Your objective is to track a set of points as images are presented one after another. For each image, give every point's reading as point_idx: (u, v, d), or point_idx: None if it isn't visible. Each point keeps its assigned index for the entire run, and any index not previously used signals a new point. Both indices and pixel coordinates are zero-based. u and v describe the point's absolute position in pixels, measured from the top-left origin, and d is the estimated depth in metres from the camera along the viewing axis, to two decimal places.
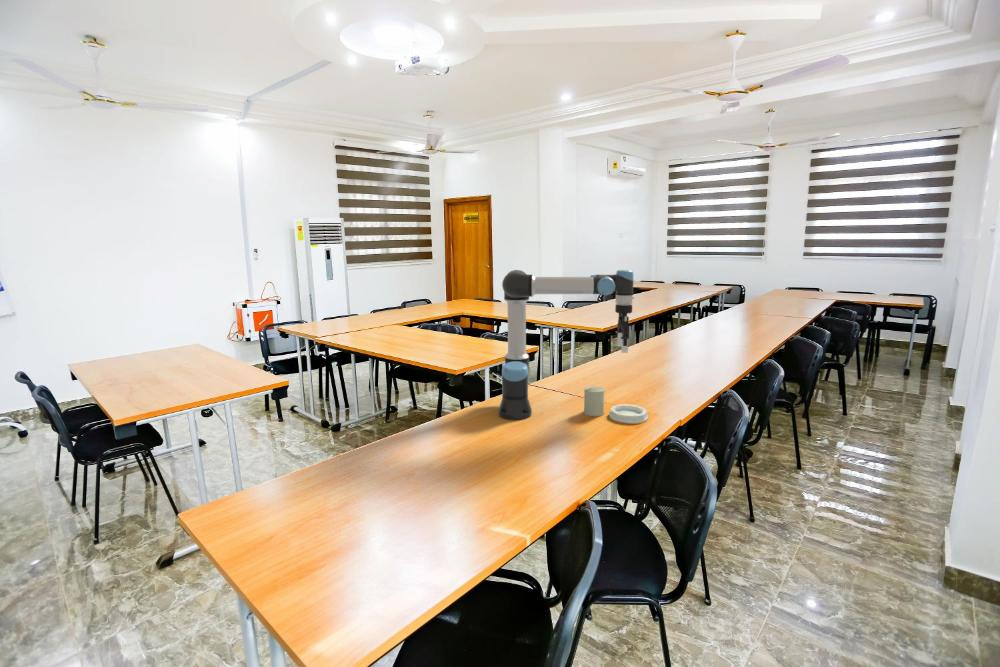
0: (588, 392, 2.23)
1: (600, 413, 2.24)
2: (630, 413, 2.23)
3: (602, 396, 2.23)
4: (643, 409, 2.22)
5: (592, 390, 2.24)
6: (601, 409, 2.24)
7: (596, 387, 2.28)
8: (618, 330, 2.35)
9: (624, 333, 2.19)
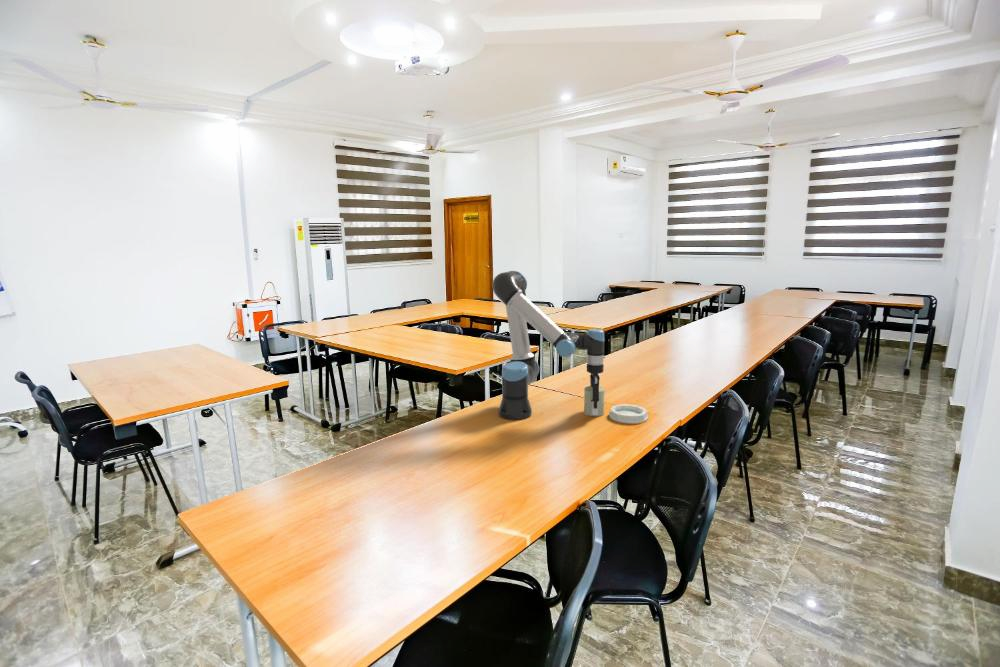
0: (588, 392, 2.23)
1: (600, 413, 2.24)
2: (630, 413, 2.23)
3: (602, 396, 2.23)
4: (643, 409, 2.22)
5: None
6: (601, 409, 2.24)
7: None
8: None
9: (594, 396, 2.18)
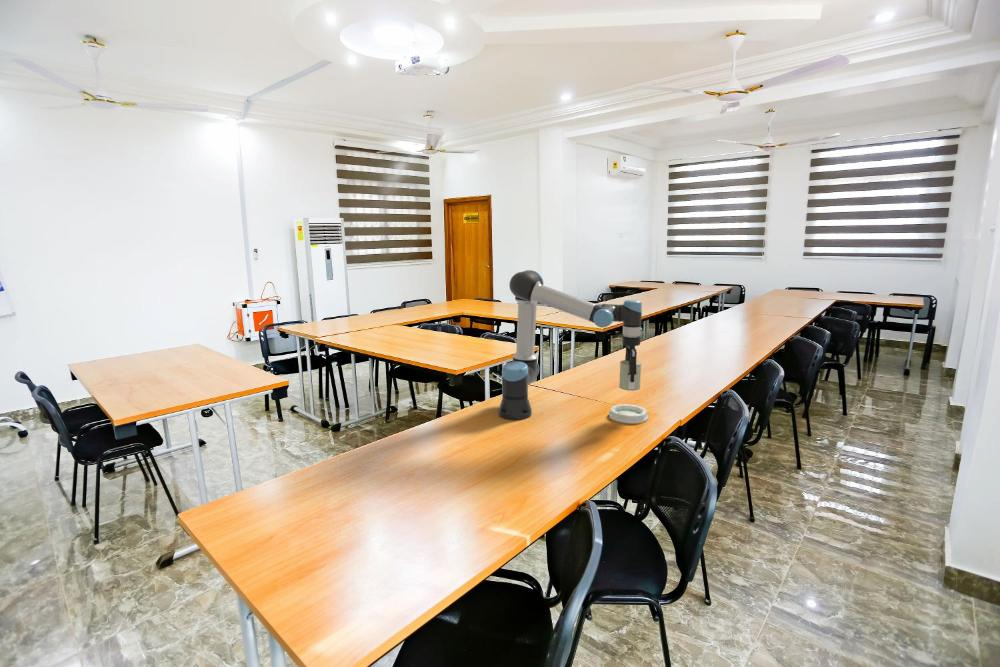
0: (624, 365, 2.15)
1: (637, 387, 2.16)
2: (630, 413, 2.23)
3: (639, 369, 2.15)
4: (643, 409, 2.22)
5: (628, 363, 2.16)
6: (638, 383, 2.16)
7: None
8: None
9: (631, 369, 2.10)
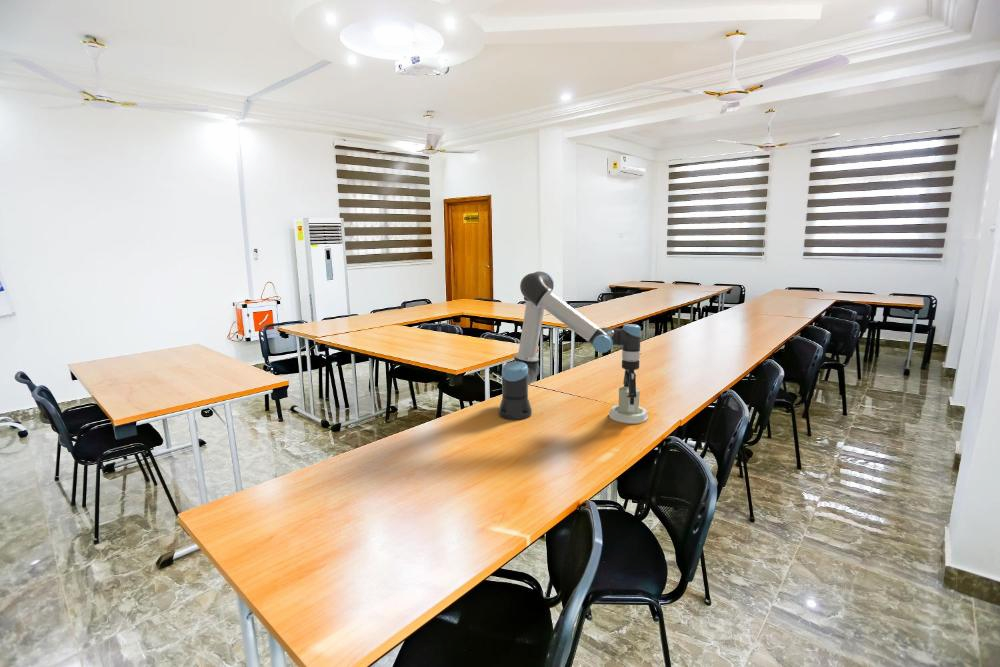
0: (623, 393, 2.17)
1: (635, 414, 2.18)
2: None
3: (637, 397, 2.18)
4: (643, 409, 2.22)
5: (627, 391, 2.18)
6: (636, 410, 2.18)
7: None
8: (624, 385, 2.26)
9: (631, 392, 2.11)
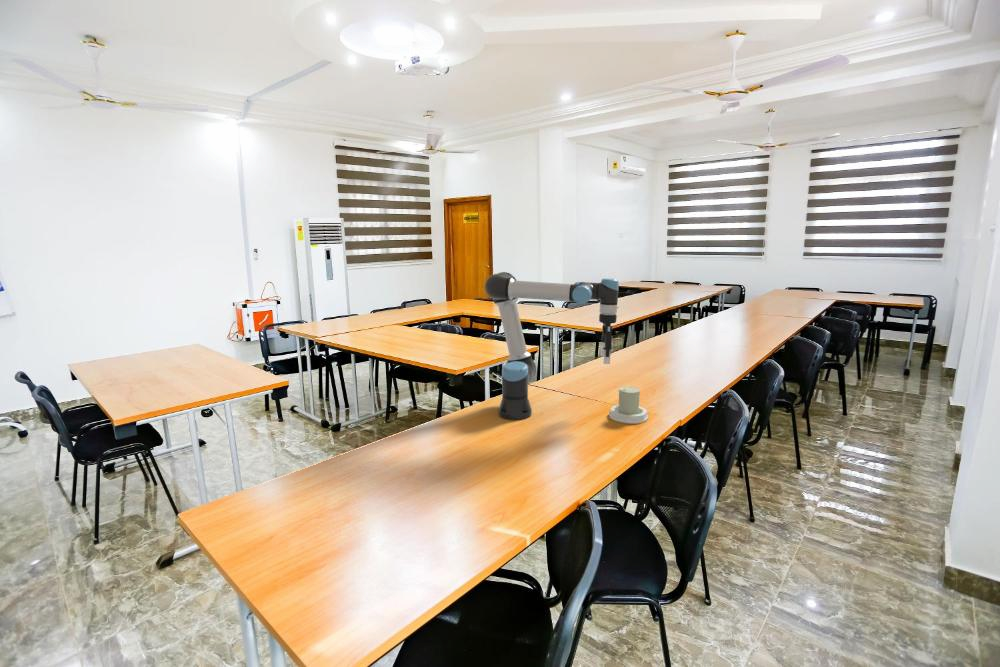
0: (623, 393, 2.17)
1: (635, 414, 2.18)
2: None
3: (638, 397, 2.18)
4: (643, 409, 2.22)
5: (627, 391, 2.18)
6: (636, 410, 2.18)
7: (631, 388, 2.23)
8: (602, 340, 2.29)
9: (606, 344, 2.13)
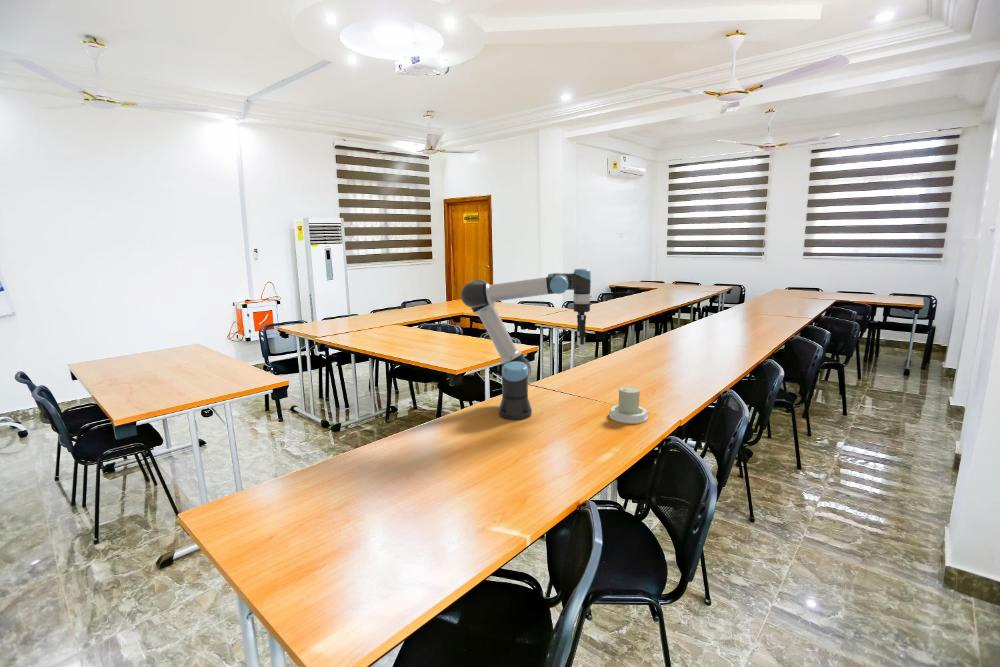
0: (623, 393, 2.17)
1: (635, 414, 2.18)
2: None
3: (637, 397, 2.18)
4: (643, 409, 2.22)
5: (627, 391, 2.18)
6: (636, 410, 2.18)
7: (631, 388, 2.23)
8: (577, 329, 2.36)
9: (581, 332, 2.20)
